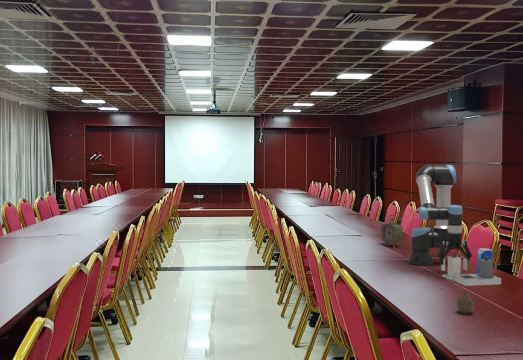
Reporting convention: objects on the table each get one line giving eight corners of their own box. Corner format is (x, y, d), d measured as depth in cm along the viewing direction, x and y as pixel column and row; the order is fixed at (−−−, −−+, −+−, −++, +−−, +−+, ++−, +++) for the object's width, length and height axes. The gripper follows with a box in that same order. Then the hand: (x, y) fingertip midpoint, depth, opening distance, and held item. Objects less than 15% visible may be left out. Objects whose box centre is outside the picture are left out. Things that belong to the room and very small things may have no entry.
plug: (447, 277, 280) (447, 252, 280) (455, 276, 281) (456, 252, 281) (452, 279, 275) (452, 253, 275) (460, 279, 276) (460, 253, 276)
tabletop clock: (381, 245, 389) (382, 214, 388) (390, 244, 393) (391, 213, 392) (393, 248, 376) (394, 215, 375) (403, 247, 380) (403, 215, 379)
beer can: (483, 278, 279) (483, 250, 279) (473, 275, 288) (473, 248, 287) (495, 277, 282) (496, 250, 281) (485, 274, 290) (485, 247, 289)
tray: (442, 277, 282) (442, 274, 282) (456, 277, 284) (456, 273, 283) (450, 281, 273) (450, 278, 273) (466, 280, 274) (466, 277, 274)
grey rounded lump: (468, 310, 221) (469, 290, 220) (476, 314, 214) (476, 294, 214) (453, 310, 221) (454, 290, 220) (460, 314, 214) (460, 295, 213)
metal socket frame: (452, 281, 272) (452, 274, 272) (487, 280, 276) (487, 273, 275) (465, 287, 260) (465, 279, 260) (501, 285, 264) (501, 278, 264)
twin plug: (478, 281, 271) (479, 255, 270) (487, 280, 272) (487, 254, 271) (484, 283, 266) (484, 256, 265) (492, 282, 267) (493, 256, 266)
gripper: (437, 234, 271) (437, 272, 272) (478, 233, 276) (478, 270, 276) (430, 232, 279) (430, 269, 279) (471, 231, 283) (470, 267, 284)
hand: (454, 270), depth 278 cm, fingers open, 13 cm apart
